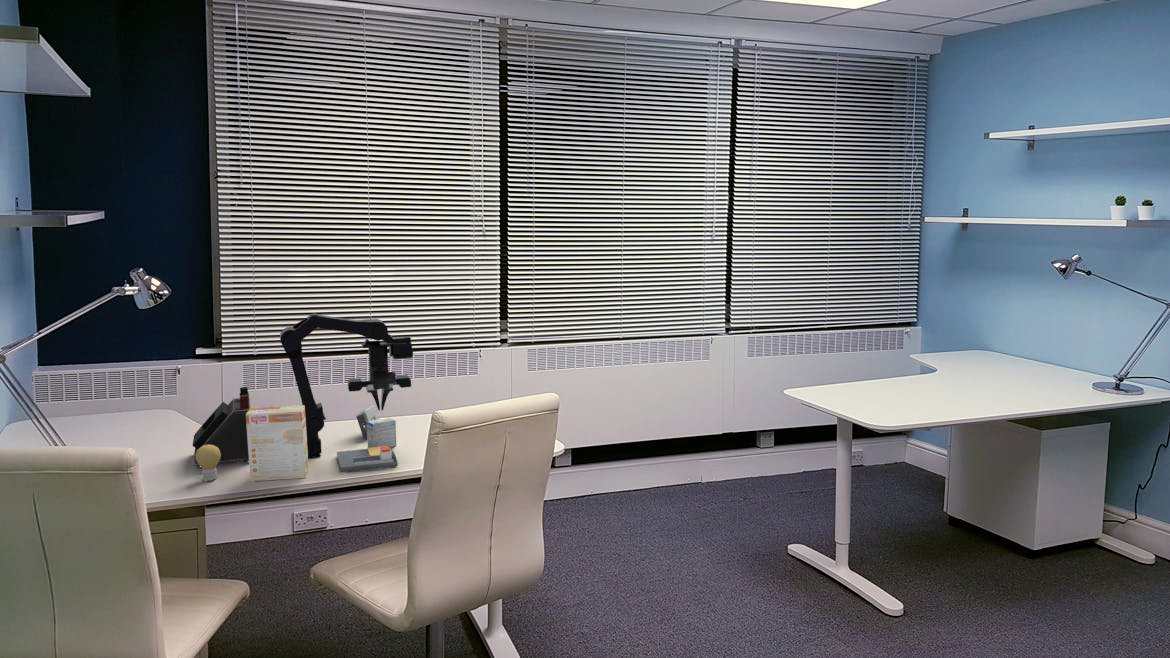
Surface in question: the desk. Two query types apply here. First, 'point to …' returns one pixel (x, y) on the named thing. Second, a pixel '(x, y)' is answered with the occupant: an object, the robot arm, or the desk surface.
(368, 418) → the electrical switch
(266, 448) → the coffeecake box
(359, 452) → the panel
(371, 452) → the pad
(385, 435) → the medicine box
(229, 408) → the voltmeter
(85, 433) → the desk surface
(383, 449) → the breaker toggle
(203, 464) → the light bulb
